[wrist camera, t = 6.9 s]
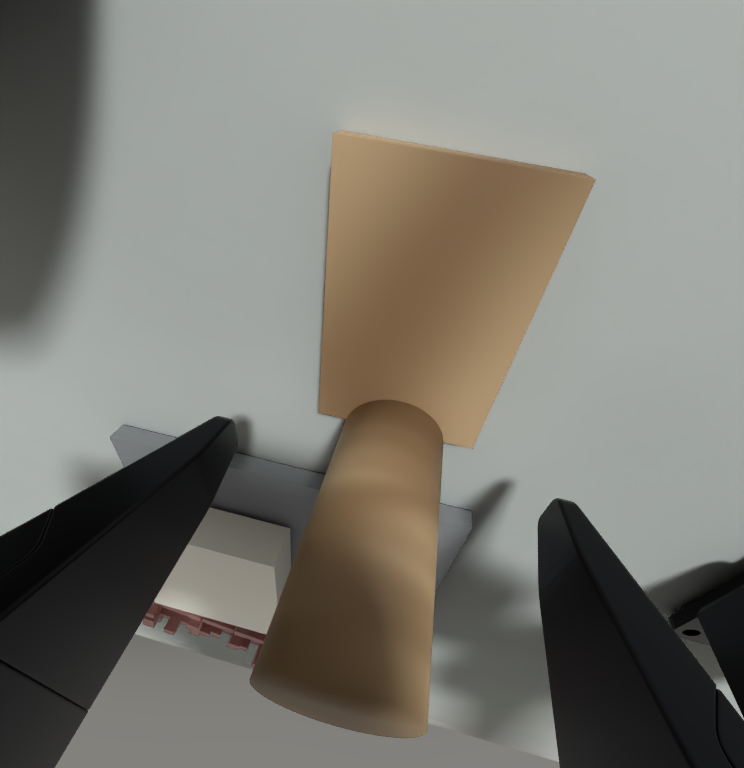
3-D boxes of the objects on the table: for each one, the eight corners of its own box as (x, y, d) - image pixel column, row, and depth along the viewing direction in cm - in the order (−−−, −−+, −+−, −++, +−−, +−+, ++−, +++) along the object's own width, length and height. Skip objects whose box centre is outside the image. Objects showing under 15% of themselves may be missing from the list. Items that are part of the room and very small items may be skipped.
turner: (585, 173, 6) (1109, 456, 1) (455, 470, 11) (449, 760, 6) (342, 130, 6) (-55, 213, 1) (322, 437, 11) (216, 690, 6)
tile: (274, 567, 12) (105, 521, 12) (280, 638, 16) (155, 602, 17) (291, 524, 13) (137, 484, 13) (293, 601, 17) (176, 569, 18)
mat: (471, 511, 11) (472, 528, 11) (402, 637, 19) (401, 650, 19) (123, 424, 12) (109, 436, 12) (188, 578, 20) (182, 589, 19)
